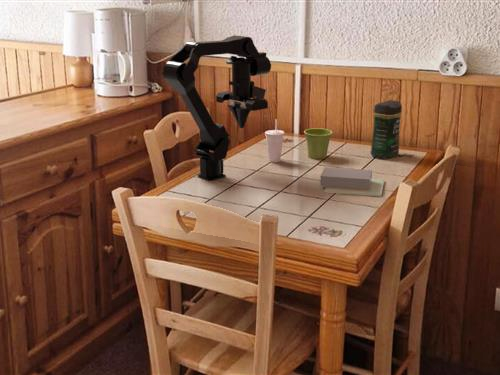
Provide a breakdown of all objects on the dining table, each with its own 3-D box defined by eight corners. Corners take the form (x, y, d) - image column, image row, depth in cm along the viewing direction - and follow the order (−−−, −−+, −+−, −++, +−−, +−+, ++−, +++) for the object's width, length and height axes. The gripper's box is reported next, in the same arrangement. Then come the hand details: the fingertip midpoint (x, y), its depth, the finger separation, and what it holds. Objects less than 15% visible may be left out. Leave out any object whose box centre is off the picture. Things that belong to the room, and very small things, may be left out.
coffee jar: (388, 161, 223) (392, 105, 217) (367, 156, 227) (370, 102, 221) (402, 154, 230) (406, 100, 224) (381, 150, 235) (384, 97, 229)
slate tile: (320, 176, 195) (369, 179, 191) (324, 167, 203) (372, 170, 200) (320, 187, 196) (369, 190, 192) (324, 177, 204) (371, 181, 201)
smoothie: (276, 164, 219) (277, 122, 215) (260, 161, 223) (260, 119, 218) (288, 160, 224) (288, 118, 220) (272, 157, 228) (272, 116, 223)
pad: (324, 192, 193) (324, 190, 193) (330, 177, 206) (330, 175, 206) (381, 196, 190) (381, 194, 189) (384, 181, 202) (384, 179, 202)
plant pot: (336, 155, 229) (337, 130, 227) (324, 162, 222) (325, 136, 219) (311, 151, 234) (311, 127, 231) (298, 158, 226) (299, 133, 223)
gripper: (281, 78, 205) (281, 129, 210) (242, 71, 219) (242, 119, 224) (253, 83, 199) (253, 135, 204) (214, 75, 212) (215, 124, 217)
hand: (241, 127), depth 212 cm, fingers closed
